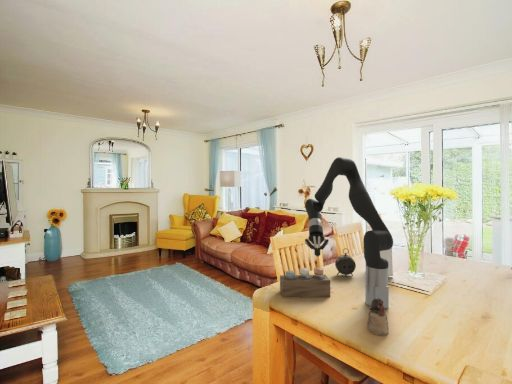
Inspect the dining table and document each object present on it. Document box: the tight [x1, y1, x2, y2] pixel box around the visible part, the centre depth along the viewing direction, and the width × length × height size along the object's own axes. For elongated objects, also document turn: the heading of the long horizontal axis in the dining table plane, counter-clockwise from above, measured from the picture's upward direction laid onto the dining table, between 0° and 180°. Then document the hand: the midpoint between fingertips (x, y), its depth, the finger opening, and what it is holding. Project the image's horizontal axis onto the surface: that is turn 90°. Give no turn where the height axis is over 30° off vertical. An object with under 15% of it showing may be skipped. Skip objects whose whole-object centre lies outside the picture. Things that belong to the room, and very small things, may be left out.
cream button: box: [299, 267, 310, 276], centre depth 132 cm, size 4×4×2 cm
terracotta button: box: [313, 267, 324, 275], centre depth 132 cm, size 4×4×2 cm
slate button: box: [285, 270, 296, 279], centre depth 132 cm, size 4×4×2 cm
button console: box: [279, 274, 331, 298], centre depth 132 cm, size 8×23×8 cm, turn 93°
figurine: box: [366, 298, 389, 336], centre depth 99 cm, size 7×7×12 cm
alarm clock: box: [334, 247, 357, 278], centre depth 158 cm, size 11×5×16 cm, turn 84°
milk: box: [380, 247, 394, 277], centre depth 161 cm, size 12×12×26 cm
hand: (317, 255), depth 139 cm, fingers closed
